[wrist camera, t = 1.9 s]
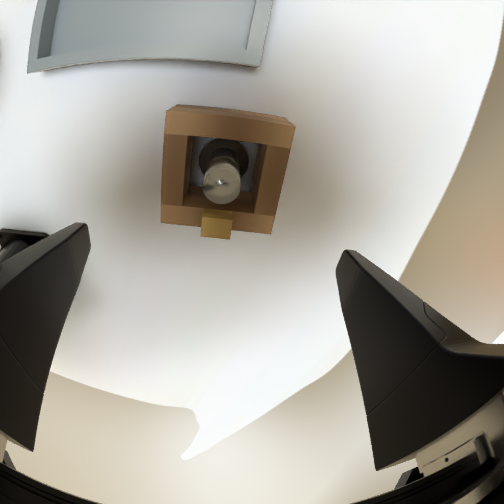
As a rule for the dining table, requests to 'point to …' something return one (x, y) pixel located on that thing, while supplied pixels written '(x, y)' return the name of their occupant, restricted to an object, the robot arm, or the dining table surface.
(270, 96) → the dining table surface
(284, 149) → the ring
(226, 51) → the tray
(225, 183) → the metal knob
